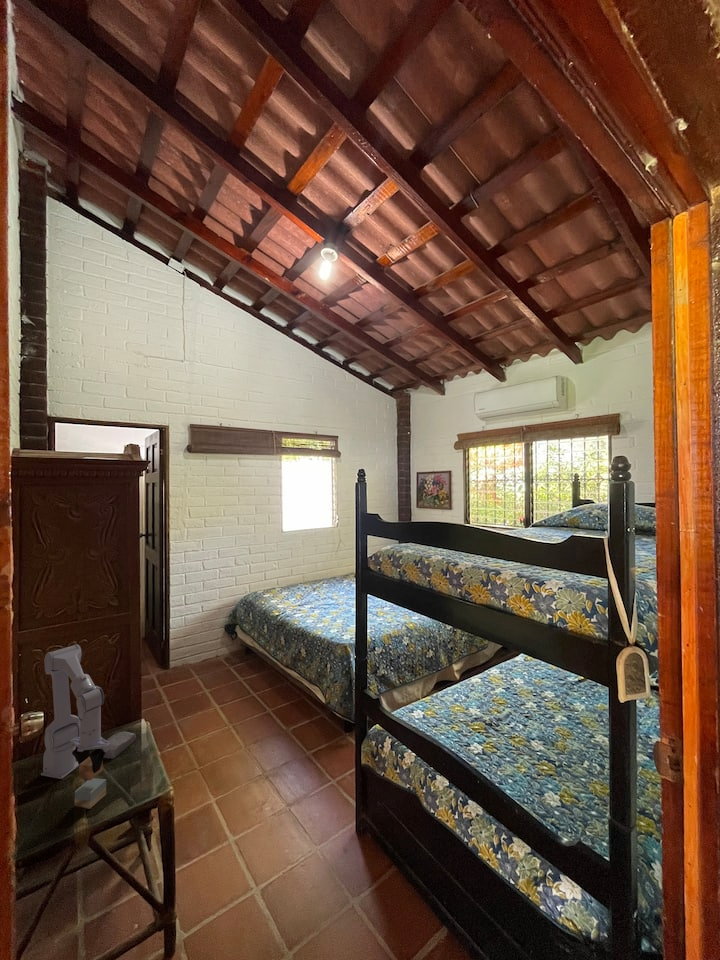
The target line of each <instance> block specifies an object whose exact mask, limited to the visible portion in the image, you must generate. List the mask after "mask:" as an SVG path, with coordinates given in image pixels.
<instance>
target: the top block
mask: <svg viewBox="0 0 720 960" xmlns="http://www.w3.org/2000/svg"><path fill="white" fill-rule="evenodd" d="M105 788H106V789H107V779H106V778H96V777H94V778H93V779H92V780H86V781H85V782H84V783H83V784H82V785H81V786H79V787H78V788H77V789H76V790H75V791H74V800H75V799H77V800H85V801H92V800H93V799H94V798H95V797H96V796H97V795H98V794H99V793H100V792H102V791H103V790H104V789H105Z"/></svg>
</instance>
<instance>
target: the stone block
mask: <svg viewBox="0 0 720 960" xmlns="http://www.w3.org/2000/svg"><path fill="white" fill-rule="evenodd" d="M136 738H137V736H136V733H135V732H134V733H133V732H129V731H119V732H116V733H114V734H113V735H111V736H110V737H108V738H107V739H105V740H106V741H108V742H111V749H110V750H108V751H107V752H106V753H105V755H104V758H103V759H111V760H112V759H115V758H117V757H118V756H119V755H120V754H122V753H123V752H124V751H125V750H126V749H127V748H128V747H129V746H131V745H132V744H133V743H134V742H135V741H136Z"/></svg>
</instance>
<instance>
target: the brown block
mask: <svg viewBox="0 0 720 960" xmlns="http://www.w3.org/2000/svg"><path fill="white" fill-rule="evenodd" d="M106 795H107V787H106V788H105V789H104V790H103V791H102V792H100V793H99V794H98V795H97V796H96V797H95V798H94V799H93V800H92V801H85V800H77V799H75V798H74V806H75V807H79V808H84V809H89V810H90V809H92V808H93V806H95V805H97V803H99V802H100V800H102V799H103V798H104V797H105V796H106Z"/></svg>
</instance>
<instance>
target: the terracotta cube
mask: <svg viewBox="0 0 720 960" xmlns="http://www.w3.org/2000/svg"><path fill="white" fill-rule="evenodd" d="M103 764H104V761H102V764H101V768H100V770H98V771H97V772H96V773H93V768H92V761H91V758H90V757H88V758H87V759H86V760H84V761H83V762H82V763H80V764H79V766H78V768H79V769H78V771H79V772H78V773H79V774H78V775H79V776H78V777H79V778H78V779H81V780H86V781H87V780H92V779H93V778H96V777H97V776H99V774H101V773H102V772H103V770H104V769H103V767H104V765H103Z"/></svg>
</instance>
